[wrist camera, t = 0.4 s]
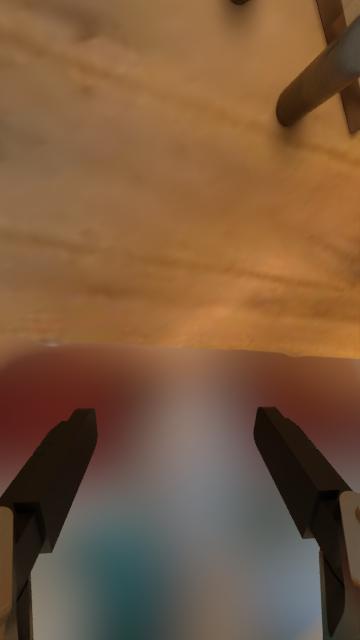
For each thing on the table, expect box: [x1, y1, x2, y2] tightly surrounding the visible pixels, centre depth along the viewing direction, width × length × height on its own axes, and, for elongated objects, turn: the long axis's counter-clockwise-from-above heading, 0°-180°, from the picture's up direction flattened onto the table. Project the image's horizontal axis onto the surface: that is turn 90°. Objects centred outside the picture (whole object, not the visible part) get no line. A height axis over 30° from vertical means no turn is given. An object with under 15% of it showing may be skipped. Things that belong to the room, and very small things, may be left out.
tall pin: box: [276, 14, 360, 126], centre depth 19 cm, size 4×4×14 cm
